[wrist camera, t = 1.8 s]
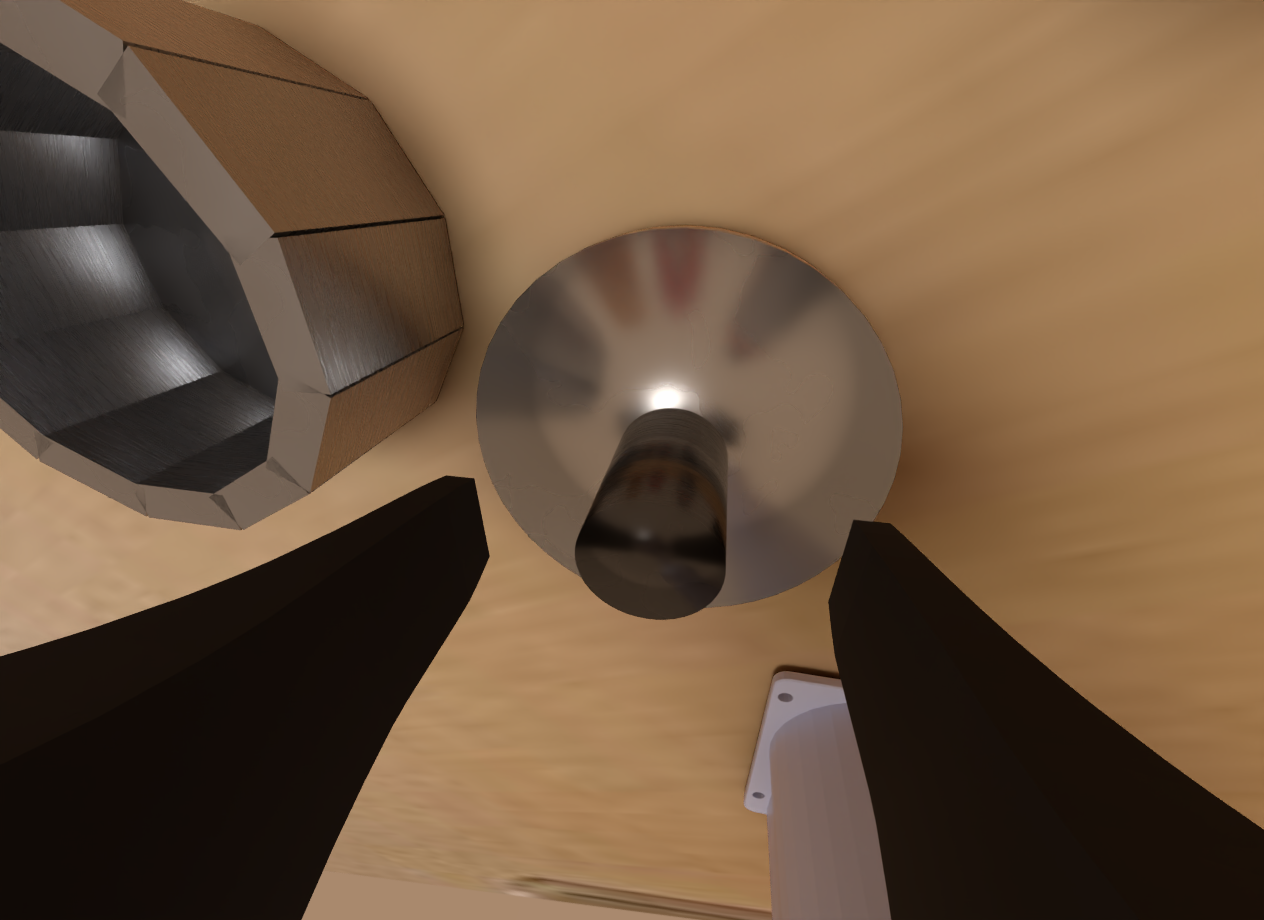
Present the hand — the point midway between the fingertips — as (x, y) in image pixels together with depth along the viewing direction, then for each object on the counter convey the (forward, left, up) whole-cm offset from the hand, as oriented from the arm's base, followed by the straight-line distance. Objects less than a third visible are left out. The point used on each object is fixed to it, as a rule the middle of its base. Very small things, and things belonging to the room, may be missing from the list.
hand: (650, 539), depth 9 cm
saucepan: (+4, +14, -5) cm, 15 cm away
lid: (0, 0, -5) cm, 5 cm away
